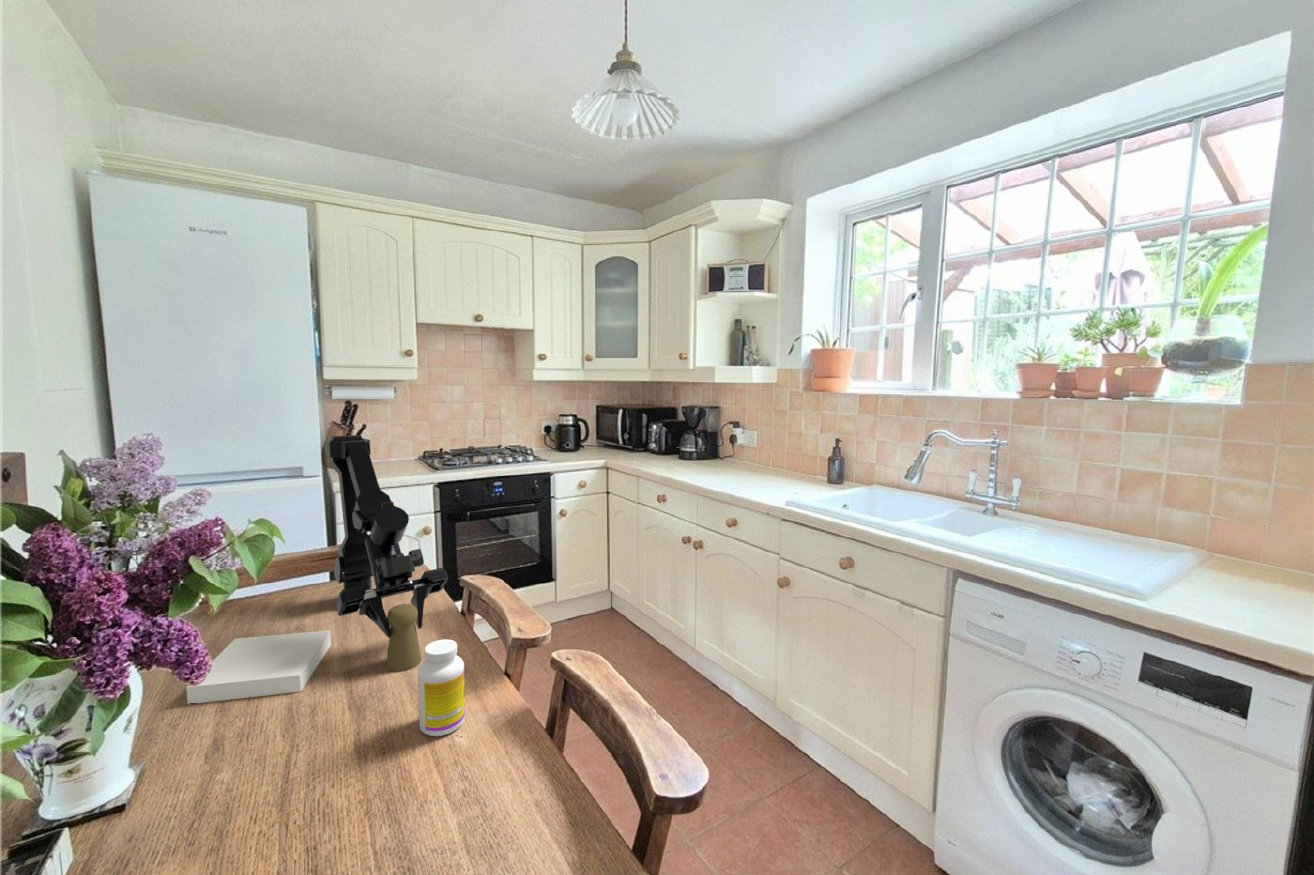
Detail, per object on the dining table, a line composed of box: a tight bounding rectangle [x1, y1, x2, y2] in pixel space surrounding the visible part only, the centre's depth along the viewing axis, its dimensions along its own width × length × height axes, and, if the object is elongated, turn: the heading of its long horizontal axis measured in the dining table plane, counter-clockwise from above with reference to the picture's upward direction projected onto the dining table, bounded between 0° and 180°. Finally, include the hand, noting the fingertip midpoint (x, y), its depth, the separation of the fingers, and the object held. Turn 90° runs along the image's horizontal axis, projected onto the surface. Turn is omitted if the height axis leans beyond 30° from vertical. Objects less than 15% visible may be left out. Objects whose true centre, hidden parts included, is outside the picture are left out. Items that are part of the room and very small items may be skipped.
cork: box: [385, 603, 422, 673], centre depth 99 cm, size 6×6×11 cm
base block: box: [185, 629, 332, 704], centre depth 95 cm, size 16×16×3 cm
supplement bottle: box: [417, 639, 466, 737], centre depth 82 cm, size 7×7×13 cm
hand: (405, 632), depth 98 cm, fingers closed on cork, 5 cm apart
